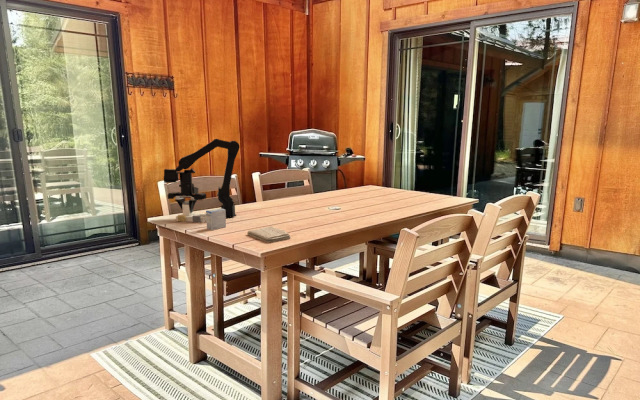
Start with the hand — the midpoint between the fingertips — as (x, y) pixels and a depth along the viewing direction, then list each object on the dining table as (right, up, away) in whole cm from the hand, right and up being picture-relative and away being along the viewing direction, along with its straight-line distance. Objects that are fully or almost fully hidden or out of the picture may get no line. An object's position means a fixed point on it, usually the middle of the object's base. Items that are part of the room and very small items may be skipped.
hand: (187, 212), depth 213 cm
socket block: (+4, -3, 0) cm, 5 cm away
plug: (0, -2, 0) cm, 2 cm away
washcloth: (+45, -10, -34) cm, 57 cm away
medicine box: (+19, -7, -19) cm, 28 cm away
